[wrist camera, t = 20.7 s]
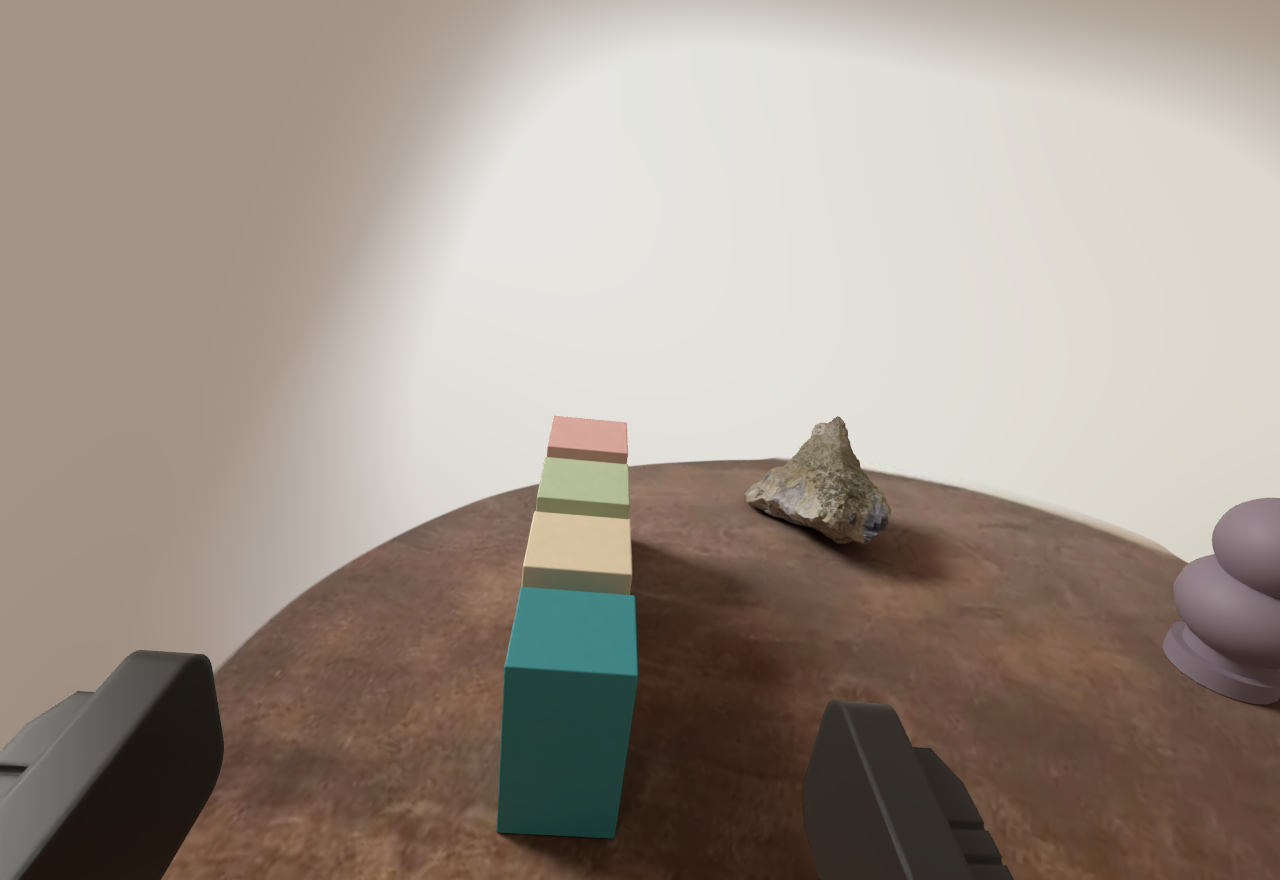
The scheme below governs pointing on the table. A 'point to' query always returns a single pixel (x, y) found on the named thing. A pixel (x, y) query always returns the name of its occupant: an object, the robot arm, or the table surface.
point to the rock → (824, 489)
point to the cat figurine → (1233, 608)
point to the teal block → (566, 712)
